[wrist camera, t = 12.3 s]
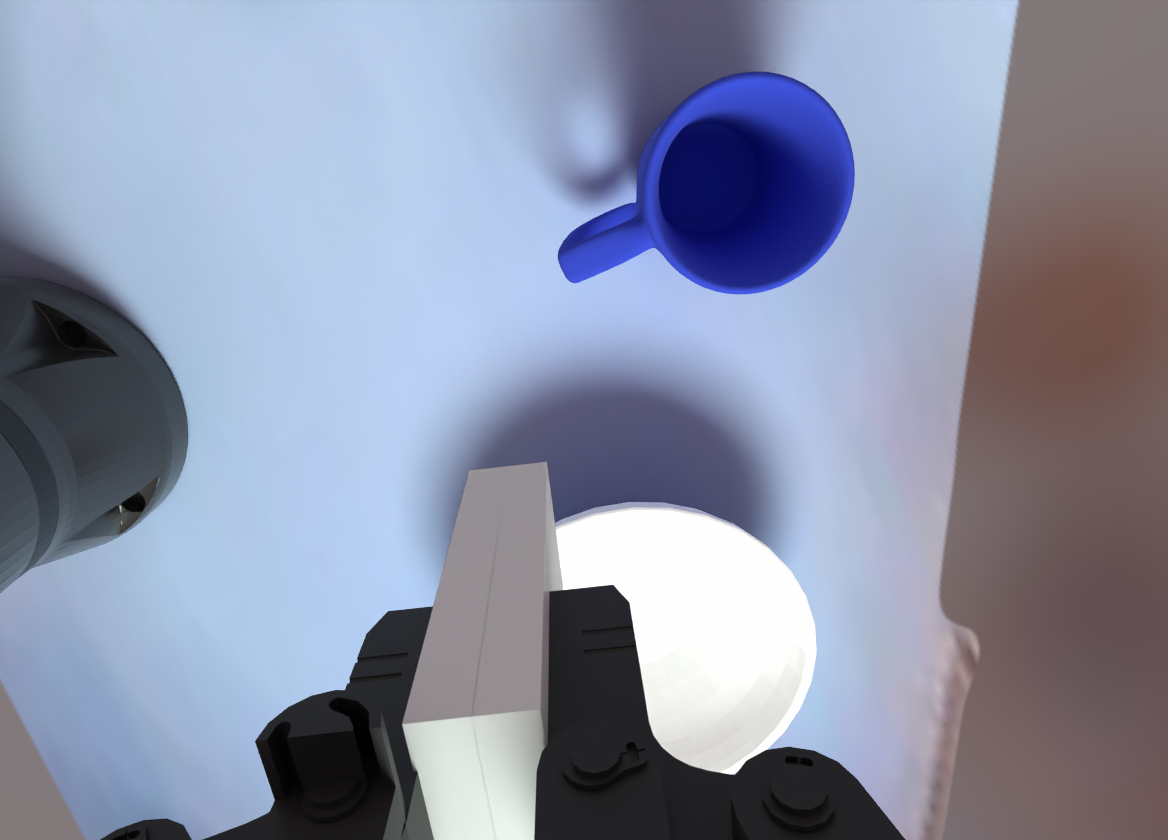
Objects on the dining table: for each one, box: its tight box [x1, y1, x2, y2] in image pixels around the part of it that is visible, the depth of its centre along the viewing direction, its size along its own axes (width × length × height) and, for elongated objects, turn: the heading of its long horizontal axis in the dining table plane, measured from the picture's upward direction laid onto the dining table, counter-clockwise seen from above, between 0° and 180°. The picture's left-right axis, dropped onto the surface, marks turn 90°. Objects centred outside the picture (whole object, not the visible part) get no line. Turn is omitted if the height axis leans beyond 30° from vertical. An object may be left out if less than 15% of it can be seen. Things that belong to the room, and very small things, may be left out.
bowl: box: [555, 502, 816, 774], centre depth 43 cm, size 20×20×7 cm
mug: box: [558, 72, 855, 294], centre depth 33 cm, size 8×12×10 cm
